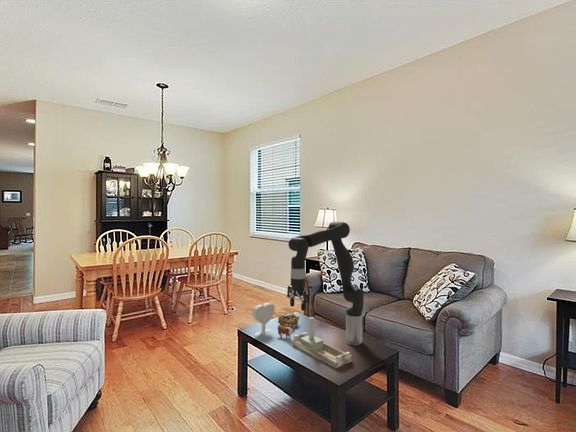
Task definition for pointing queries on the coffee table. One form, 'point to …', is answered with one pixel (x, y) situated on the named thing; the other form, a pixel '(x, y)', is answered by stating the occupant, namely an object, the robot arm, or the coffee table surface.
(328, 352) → the bay
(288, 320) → the mineral formation
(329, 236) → the robot arm
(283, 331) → the bull figurine
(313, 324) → the green block with post
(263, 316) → the heart sculpture
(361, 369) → the coffee table surface
